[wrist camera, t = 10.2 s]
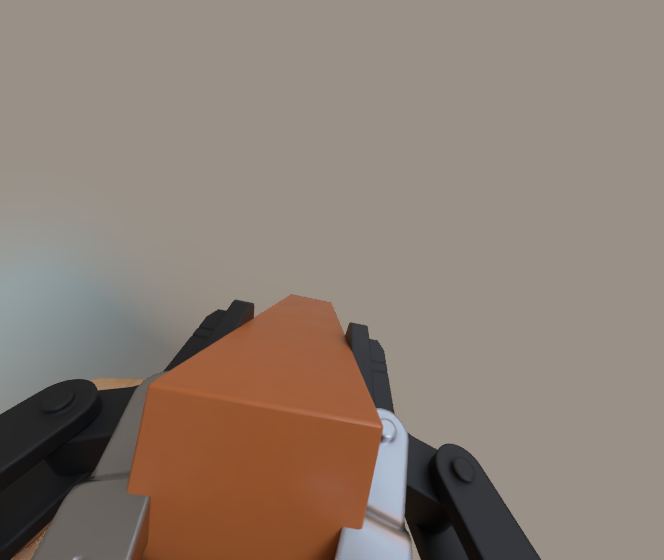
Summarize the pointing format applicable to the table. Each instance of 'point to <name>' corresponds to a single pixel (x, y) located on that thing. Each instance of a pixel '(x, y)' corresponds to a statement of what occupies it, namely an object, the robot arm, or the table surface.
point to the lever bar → (259, 442)
